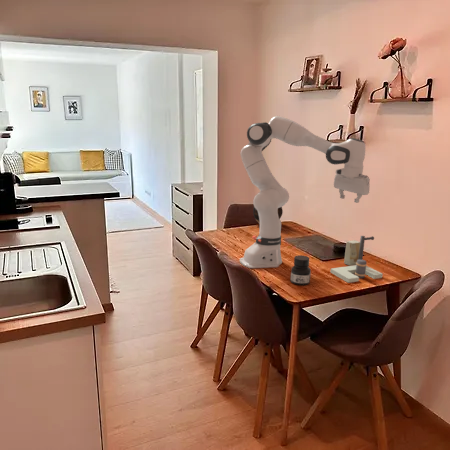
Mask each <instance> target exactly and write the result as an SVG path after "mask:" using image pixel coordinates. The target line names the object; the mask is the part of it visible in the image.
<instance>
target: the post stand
mask: <svg viewBox="0 0 450 450" xmlns="http://www.w3.org/2000/svg"><path fill="white" fill-rule="evenodd" d="M374 239H375V237H374V236H369V237H366V235H360V239H359V242H360V248H359V257H358V260H364V259H363V256H364V251H365V249H364V248H365V241H374ZM329 272H330V273H331V274H333V275H334V276H336V277H337V278H339V279H341V280H343V281H344V282H346V283H355V282H356V283H357V282H360V278H359V277H358V276H356V275H355V272H356V265H350V266H349V265H347V266H339V267H333V268H330V271H329ZM367 275H368V277H370V278H372V279H373V280H376V279H382V278H383V273H382V272H380V271H379V270H376V269H374V268H372V267H370V266H368V265H366V271H365V276H367Z"/></svg>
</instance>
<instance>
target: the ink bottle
mask: <svg viewBox="0 0 450 450" xmlns="http://www.w3.org/2000/svg"><path fill="white" fill-rule="evenodd" d="M293 260H294V261H293V266H291V270H290V282H291V283H292V284H294V285H296V286H297V285H298V286H308V285H309V284H310V283H311V274H312V273H311V272H312V269H311V268H310V267H309V265H310V257H309V256H307V255H301V254H300V255H295V256H294V259H293Z"/></svg>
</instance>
